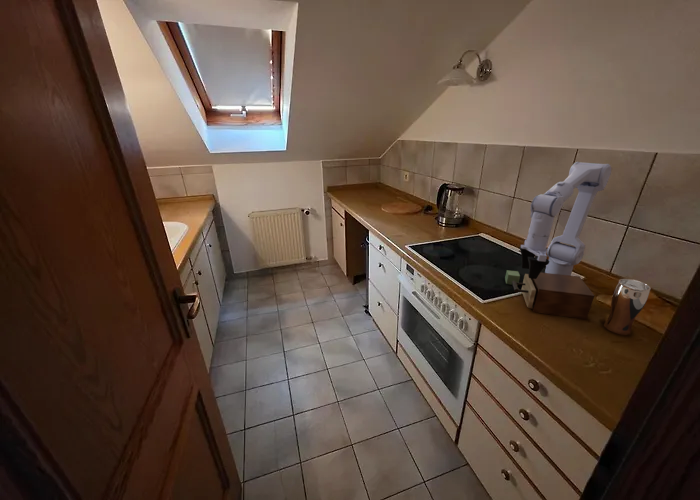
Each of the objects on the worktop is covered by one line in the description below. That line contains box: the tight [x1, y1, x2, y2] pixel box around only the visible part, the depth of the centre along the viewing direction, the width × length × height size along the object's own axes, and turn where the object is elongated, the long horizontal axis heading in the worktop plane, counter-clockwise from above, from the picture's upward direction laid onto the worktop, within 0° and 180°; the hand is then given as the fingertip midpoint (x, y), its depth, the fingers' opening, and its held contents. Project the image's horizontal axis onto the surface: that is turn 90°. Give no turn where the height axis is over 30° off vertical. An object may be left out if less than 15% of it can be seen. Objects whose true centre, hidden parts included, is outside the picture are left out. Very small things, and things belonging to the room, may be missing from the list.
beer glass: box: [603, 278, 652, 336], centre depth 85 cm, size 7×7×15 cm
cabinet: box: [531, 271, 595, 320], centre depth 98 cm, size 15×13×9 cm
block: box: [504, 269, 521, 286], centre depth 114 cm, size 4×4×4 cm
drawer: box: [511, 273, 538, 309], centre depth 100 cm, size 18×11×7 cm, turn 72°
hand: (528, 273), depth 98 cm, fingers open, 7 cm apart
